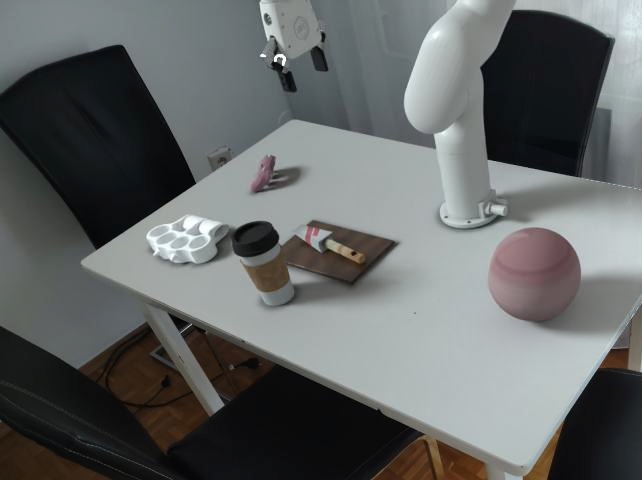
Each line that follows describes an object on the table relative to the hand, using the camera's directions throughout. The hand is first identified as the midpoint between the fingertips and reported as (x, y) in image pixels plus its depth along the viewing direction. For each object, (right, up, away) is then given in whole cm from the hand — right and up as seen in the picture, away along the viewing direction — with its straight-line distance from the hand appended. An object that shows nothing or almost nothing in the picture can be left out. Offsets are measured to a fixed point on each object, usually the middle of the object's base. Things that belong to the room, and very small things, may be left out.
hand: (306, 80), depth 127 cm
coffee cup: (-4, -43, -5) cm, 44 cm away
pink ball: (+43, -47, -19) cm, 66 cm away
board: (+5, -34, +3) cm, 34 cm away
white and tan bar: (+4, -33, +2) cm, 34 cm away
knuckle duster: (-28, -31, +13) cm, 44 cm away
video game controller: (-16, -13, +29) cm, 35 cm away
